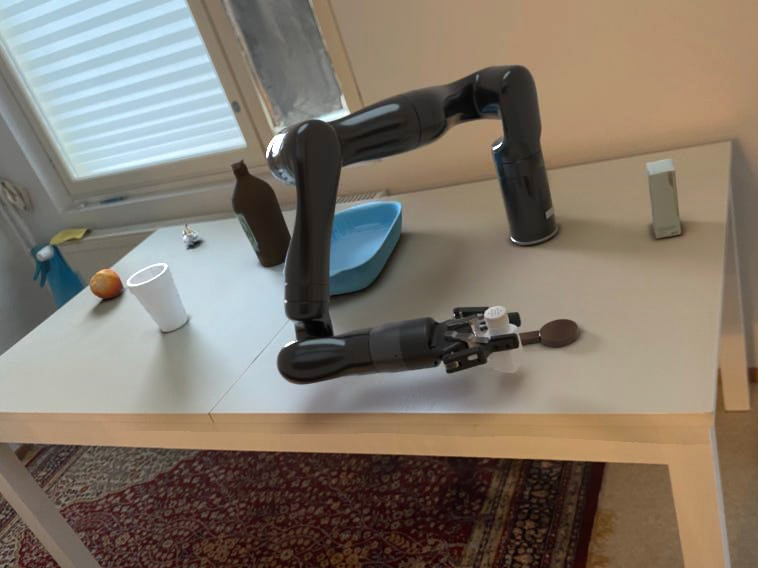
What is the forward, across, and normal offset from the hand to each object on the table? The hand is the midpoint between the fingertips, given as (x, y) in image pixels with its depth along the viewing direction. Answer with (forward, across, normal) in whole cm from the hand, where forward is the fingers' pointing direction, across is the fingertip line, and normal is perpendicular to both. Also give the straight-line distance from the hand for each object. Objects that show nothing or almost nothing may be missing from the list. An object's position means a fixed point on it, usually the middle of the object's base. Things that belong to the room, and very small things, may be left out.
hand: (518, 329), depth 99 cm
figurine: (-101, +84, +10) cm, 132 cm away
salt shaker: (-3, 0, +6) cm, 7 cm away
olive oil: (-65, +62, +10) cm, 90 cm away
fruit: (-114, +59, +10) cm, 129 cm away
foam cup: (-82, +37, +10) cm, 91 cm away
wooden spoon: (-3, +10, +9) cm, 13 cm away
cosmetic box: (+23, +39, +9) cm, 47 cm away
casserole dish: (-41, +50, +9) cm, 65 cm away
